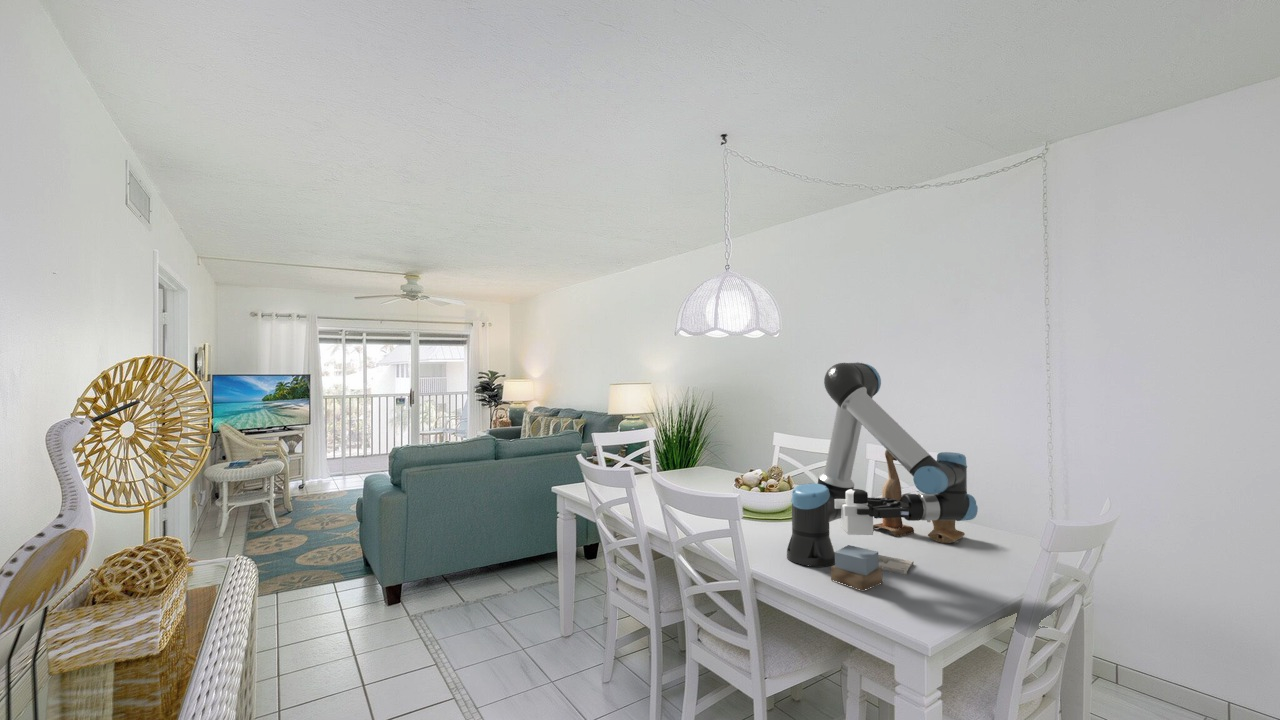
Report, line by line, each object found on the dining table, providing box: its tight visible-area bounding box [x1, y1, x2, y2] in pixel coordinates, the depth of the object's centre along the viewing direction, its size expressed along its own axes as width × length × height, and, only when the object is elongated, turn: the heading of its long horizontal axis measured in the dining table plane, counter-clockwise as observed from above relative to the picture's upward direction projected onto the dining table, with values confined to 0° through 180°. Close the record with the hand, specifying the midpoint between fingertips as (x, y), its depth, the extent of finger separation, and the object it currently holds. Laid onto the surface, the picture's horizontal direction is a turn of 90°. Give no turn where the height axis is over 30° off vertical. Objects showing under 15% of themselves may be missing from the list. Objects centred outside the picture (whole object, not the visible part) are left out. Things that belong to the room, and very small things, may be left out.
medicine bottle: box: [840, 488, 874, 536], centre depth 163 cm, size 7×7×12 cm
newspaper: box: [840, 547, 915, 575], centre depth 180 cm, size 23×12×2 cm, turn 53°
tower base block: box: [830, 564, 883, 591], centre depth 162 cm, size 10×10×4 cm
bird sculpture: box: [873, 448, 915, 538], centre depth 212 cm, size 11×12×32 cm
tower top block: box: [834, 544, 879, 576], centre depth 162 cm, size 9×9×4 cm
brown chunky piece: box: [927, 520, 965, 544], centre depth 203 cm, size 15×12×15 cm
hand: (839, 507), depth 163 cm, fingers closed on medicine bottle, 7 cm apart
